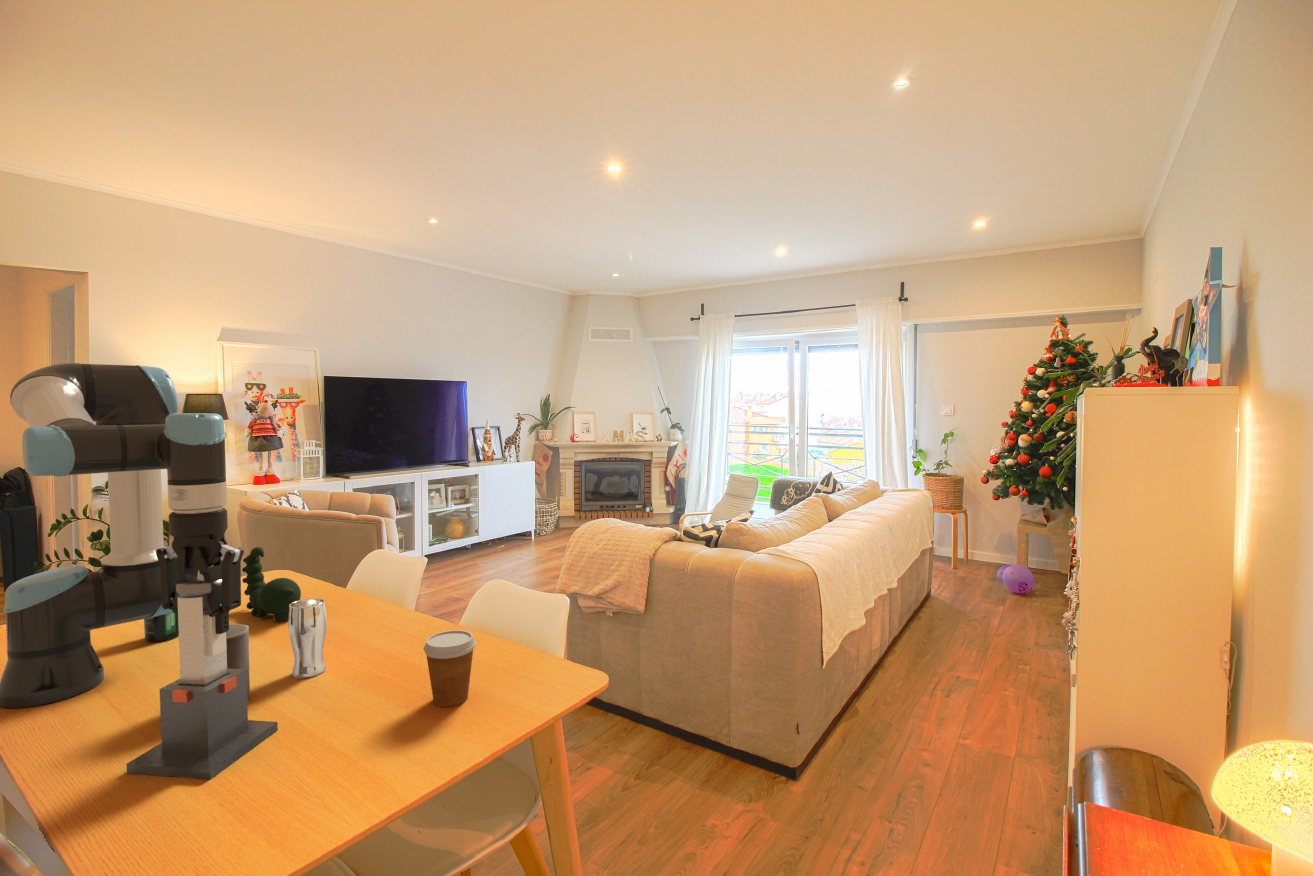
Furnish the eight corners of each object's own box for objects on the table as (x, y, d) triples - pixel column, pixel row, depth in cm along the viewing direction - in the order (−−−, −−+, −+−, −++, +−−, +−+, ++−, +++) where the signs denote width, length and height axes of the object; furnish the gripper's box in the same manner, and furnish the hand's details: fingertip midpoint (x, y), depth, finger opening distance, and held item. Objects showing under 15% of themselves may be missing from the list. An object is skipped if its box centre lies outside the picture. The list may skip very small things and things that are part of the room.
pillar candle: (201, 721, 108) (199, 638, 108) (177, 706, 113) (176, 627, 113) (260, 699, 117) (259, 622, 116) (235, 686, 122) (234, 613, 121)
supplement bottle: (179, 639, 146) (177, 590, 145) (142, 645, 142) (140, 595, 142) (182, 630, 152) (180, 583, 151) (146, 636, 148) (144, 587, 147)
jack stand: (126, 773, 93) (123, 697, 92) (203, 725, 107) (201, 659, 106) (210, 779, 91) (207, 702, 91) (277, 730, 105) (275, 662, 105)
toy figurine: (234, 618, 165) (275, 630, 151) (229, 549, 165) (270, 554, 151) (272, 609, 173) (314, 619, 158) (267, 543, 173) (309, 547, 158)
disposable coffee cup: (427, 716, 110) (426, 651, 110) (421, 694, 119) (420, 634, 118) (481, 704, 115) (480, 642, 114) (471, 684, 123) (470, 626, 122)
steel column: (170, 734, 96) (164, 585, 95) (204, 713, 102) (199, 573, 101) (207, 736, 95) (202, 586, 94) (239, 715, 102) (234, 575, 100)
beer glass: (310, 681, 124) (308, 609, 123) (281, 678, 125) (279, 607, 125) (335, 667, 131) (333, 598, 130) (307, 664, 132) (305, 596, 131)
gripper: (126, 512, 94) (132, 659, 95) (229, 514, 92) (234, 664, 94) (170, 504, 102) (175, 640, 103) (266, 506, 100) (270, 645, 101)
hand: (203, 651), depth 98 cm, fingers closed on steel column, 4 cm apart
